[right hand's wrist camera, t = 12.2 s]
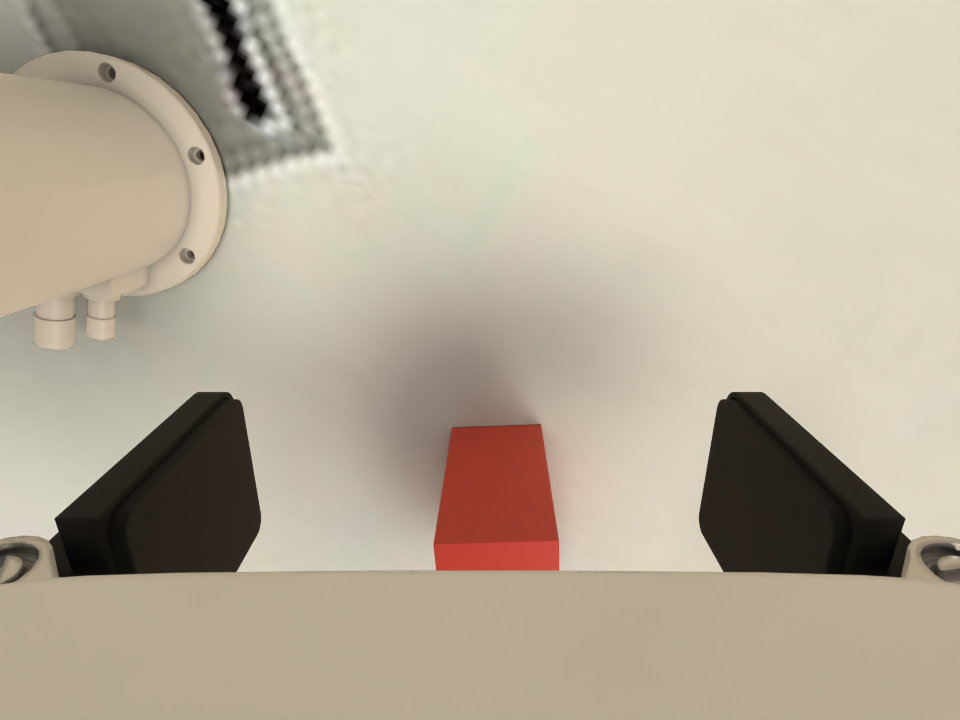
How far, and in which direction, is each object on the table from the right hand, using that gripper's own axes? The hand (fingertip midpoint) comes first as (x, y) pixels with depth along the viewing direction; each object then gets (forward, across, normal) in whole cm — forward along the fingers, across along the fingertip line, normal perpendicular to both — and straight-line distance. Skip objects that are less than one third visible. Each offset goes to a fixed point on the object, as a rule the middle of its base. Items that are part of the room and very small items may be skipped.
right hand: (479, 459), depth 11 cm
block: (+23, -1, +16) cm, 27 cm away
